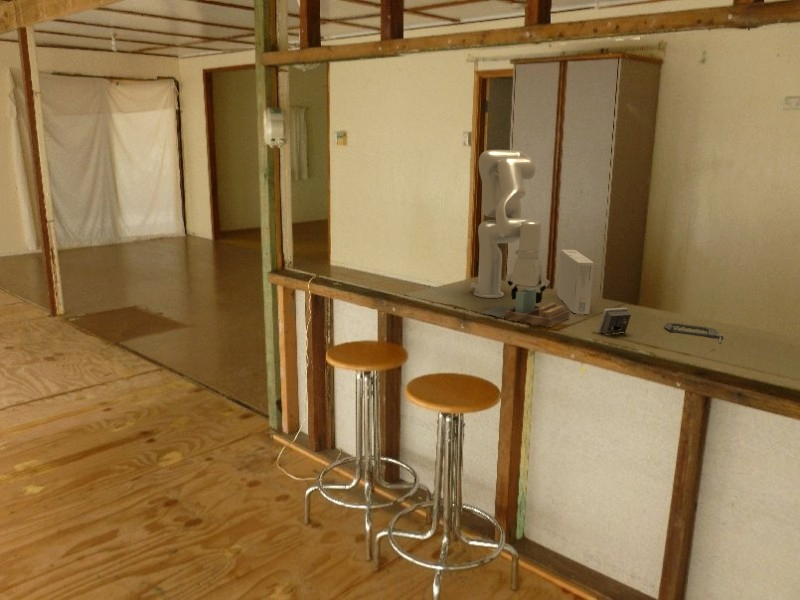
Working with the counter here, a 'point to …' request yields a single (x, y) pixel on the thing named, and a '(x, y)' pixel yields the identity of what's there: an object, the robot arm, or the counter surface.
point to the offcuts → (550, 310)
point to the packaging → (575, 281)
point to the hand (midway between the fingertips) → (526, 300)
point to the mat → (497, 311)
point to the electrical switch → (614, 320)
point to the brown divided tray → (535, 317)
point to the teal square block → (525, 300)
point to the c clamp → (711, 332)
